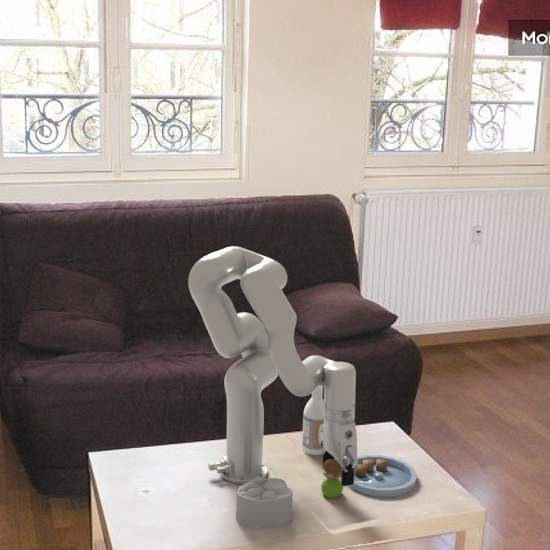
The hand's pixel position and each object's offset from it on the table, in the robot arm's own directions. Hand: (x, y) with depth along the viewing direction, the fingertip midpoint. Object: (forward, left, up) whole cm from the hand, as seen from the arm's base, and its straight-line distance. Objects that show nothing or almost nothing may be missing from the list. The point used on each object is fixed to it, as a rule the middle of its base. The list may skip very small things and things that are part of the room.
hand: (337, 476), depth 220 cm
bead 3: (+18, +7, -5) cm, 20 cm away
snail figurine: (-1, +1, -6) cm, 6 cm away
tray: (+14, +4, -6) cm, 16 cm away
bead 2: (+14, +8, -5) cm, 17 cm away
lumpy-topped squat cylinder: (-21, -1, -6) cm, 22 cm away
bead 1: (+11, +7, -5) cm, 14 cm away
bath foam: (+6, +25, -6) cm, 26 cm away
